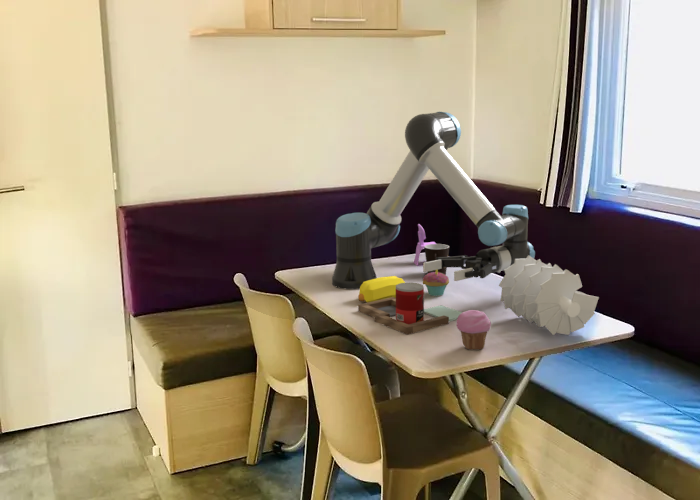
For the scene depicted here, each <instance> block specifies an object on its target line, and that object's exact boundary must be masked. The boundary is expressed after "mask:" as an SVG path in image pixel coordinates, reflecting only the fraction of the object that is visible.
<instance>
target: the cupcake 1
mask: <svg viewBox="0 0 700 500" xmlns="http://www.w3.org/2000/svg"><path fill="white" fill-rule="evenodd" d="M449 283H450V280H449V276H447V274H446V275H445V274H443V273H439V272H438V269H437V270H436V272H431V273H428V272H427V274H425V275H424V276H423V277H422V285H425V287H426V289H427V292H428V295H430V296H434V297H436V296H437V297H439V296H443V295H444V294H445V291H446V288H447V286H448V285H449Z"/></svg>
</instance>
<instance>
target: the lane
mask: <svg viewBox="0 0 700 500" xmlns="http://www.w3.org/2000/svg"><path fill="white" fill-rule="evenodd" d="M357 306H358V307H357V308H358V309H357V310H358V312H359V311H360V313H362V314H365V315H367V316H368V317H369V316H370V317H372V318H374V322H376V323H378V324H380V325H382V326H385V327H388V328H389V329H393V330H395V331H397V332H399V333H402V334H405V335H406V336H407V335H412V334H414V333H416V334H417V333H420V332H423V331H427V330H430V329H434V328H438V327H442V326H446V325H449V324H450V321H449V317H447V316H440V317H432V318H428V319H424V321H420V322H416V323H412V324H406V323H403V322H401V321H398V320H396V318H393V317H396V298H394V297H390V298H386V299H382V300H377V301H373V302H364V303H360V304H358V305H357Z"/></svg>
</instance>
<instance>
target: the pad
mask: <svg viewBox="0 0 700 500" xmlns="http://www.w3.org/2000/svg"><path fill="white" fill-rule="evenodd" d="M463 312H464V311H463ZM463 312H462V311H460V310H456V309H453V308H452V307H447V306H446V305H443V304H440V305H436V306H433V307H432V306H431V307H429V308H428V307H427V308H424V315H425V314H426V315H428V316H430V317H432V318H436V317H440V316H447V317H449V322H452V321H457V318H458V316H459V315H460V314H461V313H463Z"/></svg>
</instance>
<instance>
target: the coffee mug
mask: <svg viewBox="0 0 700 500" xmlns="http://www.w3.org/2000/svg"><path fill="white" fill-rule="evenodd" d="M424 247H425V249H424V255H425V262H430V261H435V260H436V258H437V257H449V253H450V245H448V244H442V243H436V244H429V245H426V246H424ZM447 268H448V267H442V269H440V270H438V272H439V273H443V274H445V275H446V276H447ZM431 272H436V270H433V271H428V272H427V274H428V273H431Z"/></svg>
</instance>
